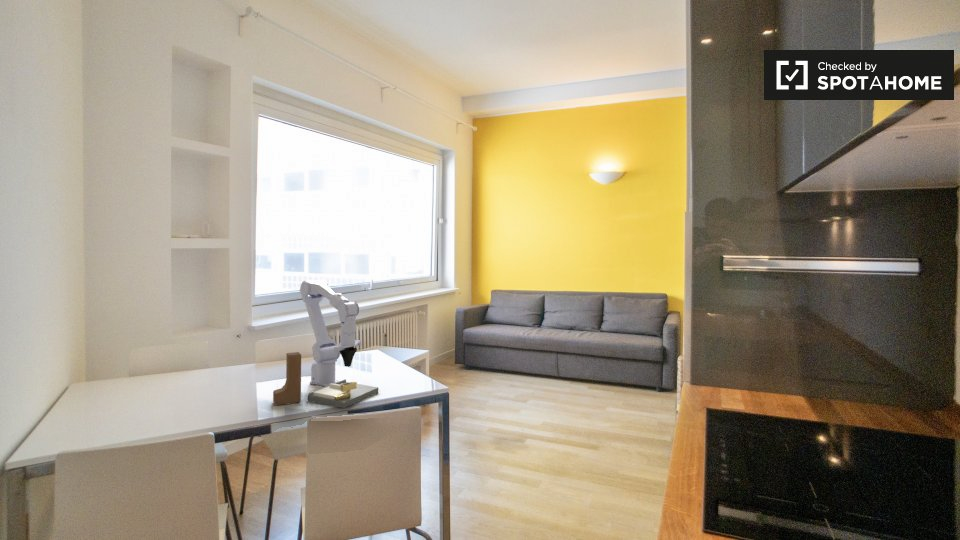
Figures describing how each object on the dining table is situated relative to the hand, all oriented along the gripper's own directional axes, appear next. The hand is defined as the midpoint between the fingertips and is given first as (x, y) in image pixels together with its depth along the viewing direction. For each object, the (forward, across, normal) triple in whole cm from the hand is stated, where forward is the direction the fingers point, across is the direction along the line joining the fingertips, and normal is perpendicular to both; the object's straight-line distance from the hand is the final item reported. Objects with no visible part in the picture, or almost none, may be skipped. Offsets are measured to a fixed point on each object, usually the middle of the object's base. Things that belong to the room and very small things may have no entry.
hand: (347, 366), depth 200 cm
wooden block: (+10, -22, +10) cm, 26 cm away
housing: (+10, -6, -4) cm, 12 cm away
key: (+8, -13, -9) cm, 17 cm away
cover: (+8, -12, -2) cm, 14 cm away
